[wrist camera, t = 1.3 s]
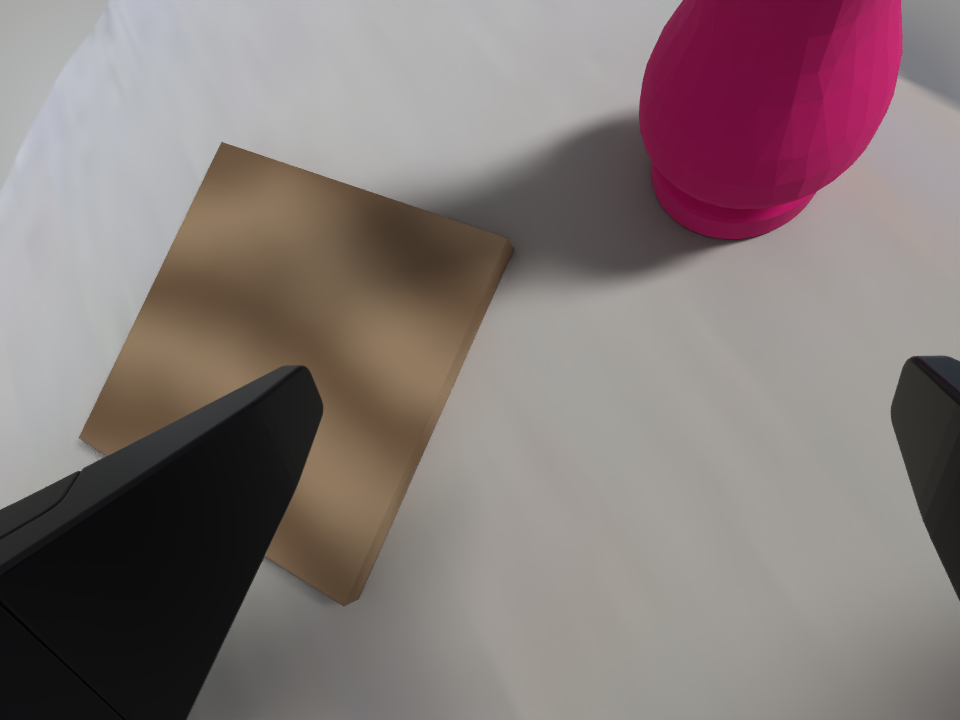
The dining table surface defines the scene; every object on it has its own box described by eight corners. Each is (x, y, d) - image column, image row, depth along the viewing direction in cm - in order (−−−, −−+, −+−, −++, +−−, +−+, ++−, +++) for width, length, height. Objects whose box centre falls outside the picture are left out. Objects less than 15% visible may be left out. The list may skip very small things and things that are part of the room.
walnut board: (358, 598, 23) (343, 606, 22) (101, 438, 28) (78, 437, 27) (513, 248, 24) (507, 238, 23) (238, 154, 29) (221, 142, 28)
